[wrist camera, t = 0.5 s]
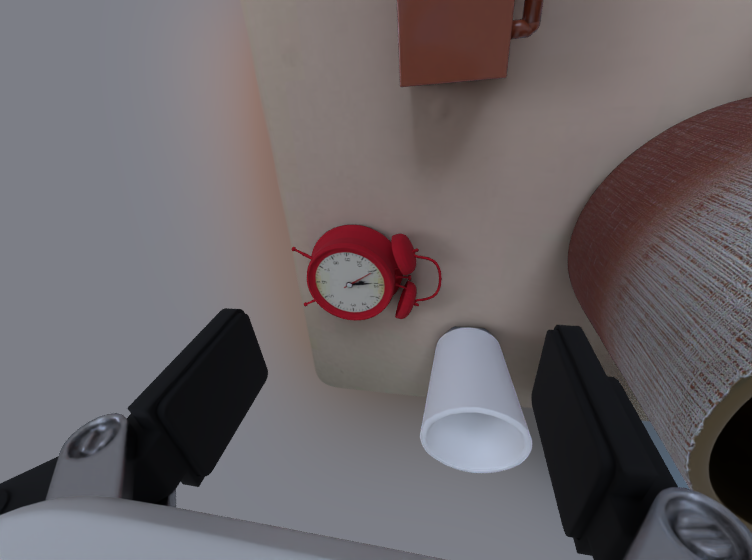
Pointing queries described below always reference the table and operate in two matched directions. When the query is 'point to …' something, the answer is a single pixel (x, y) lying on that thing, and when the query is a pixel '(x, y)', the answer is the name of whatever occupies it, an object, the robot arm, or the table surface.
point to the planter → (680, 292)
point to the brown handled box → (459, 38)
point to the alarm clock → (362, 272)
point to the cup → (473, 406)
